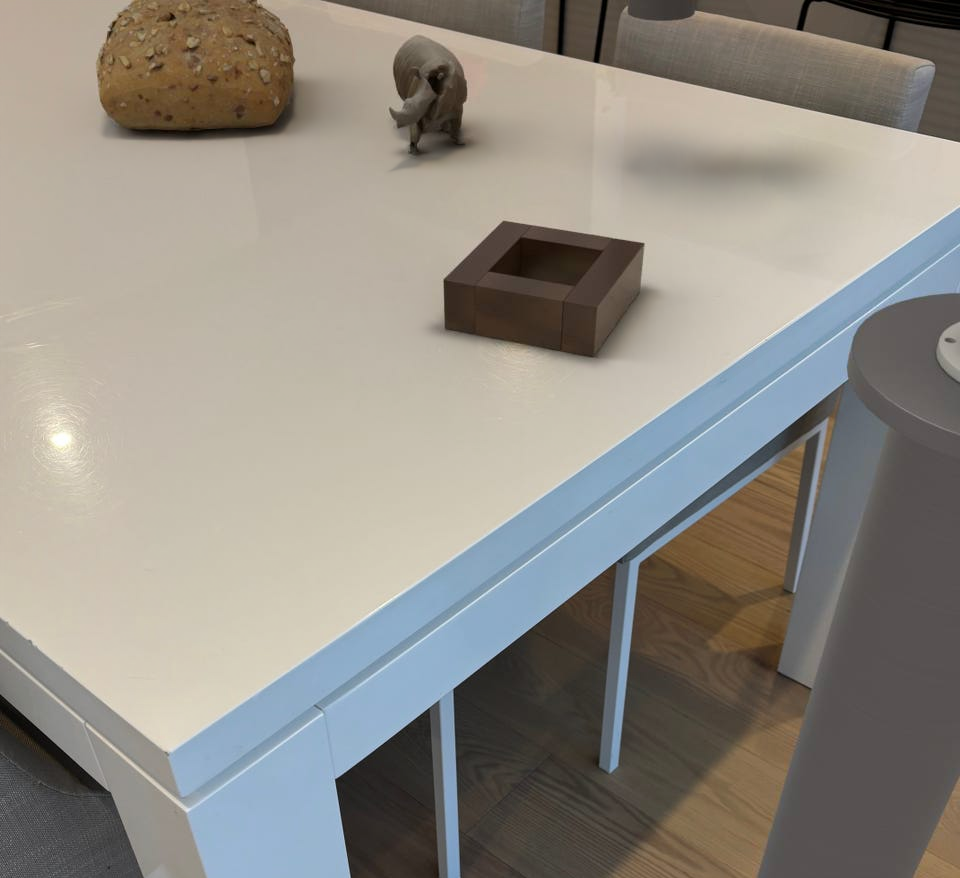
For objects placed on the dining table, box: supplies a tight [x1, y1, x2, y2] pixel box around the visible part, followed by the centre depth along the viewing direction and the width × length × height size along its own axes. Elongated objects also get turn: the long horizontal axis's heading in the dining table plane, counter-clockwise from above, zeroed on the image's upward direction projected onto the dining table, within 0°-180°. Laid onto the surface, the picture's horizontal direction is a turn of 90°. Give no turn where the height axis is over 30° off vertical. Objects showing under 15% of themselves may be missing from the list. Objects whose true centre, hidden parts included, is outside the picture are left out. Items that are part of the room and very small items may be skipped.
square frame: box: [442, 220, 645, 358], centre depth 85 cm, size 12×12×4 cm
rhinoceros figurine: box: [388, 34, 468, 156], centre depth 113 cm, size 8×14×15 cm
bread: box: [95, 0, 296, 132], centre depth 121 cm, size 24×21×12 cm
